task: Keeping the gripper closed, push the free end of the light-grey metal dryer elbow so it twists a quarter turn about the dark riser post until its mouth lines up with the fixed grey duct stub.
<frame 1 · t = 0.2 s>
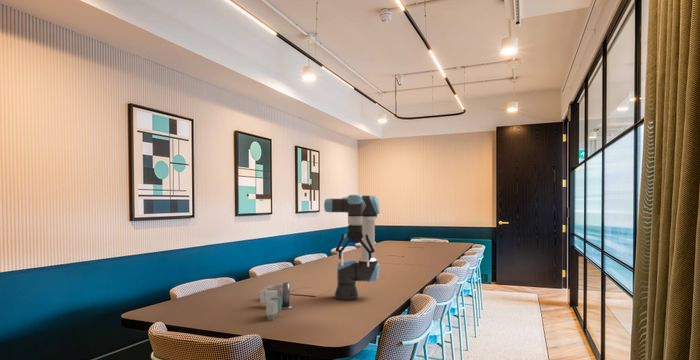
hand: (355, 266, 209), 28 cm above the table, tool pointing down, fingers open, 13 cm apart
riser post: (286, 307, 233), on the table
elbow: (271, 297, 235), point 5 cm above the table, hinge at -90.0°
duct stub: (273, 318, 212), on the table
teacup: (273, 299, 253), on the table
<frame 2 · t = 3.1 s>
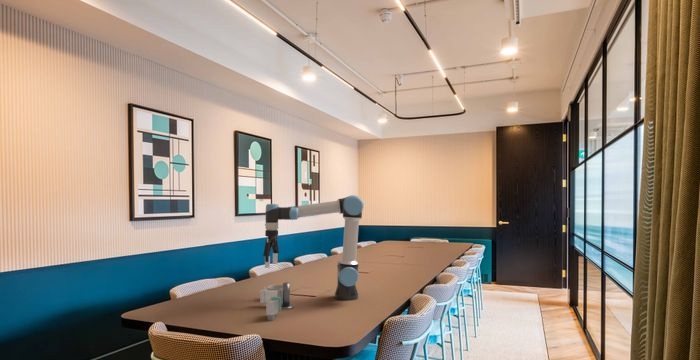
hand: (271, 265, 242), 23 cm above the table, tool pointing down, fingers open, 12 cm apart
nothing on the table moved.
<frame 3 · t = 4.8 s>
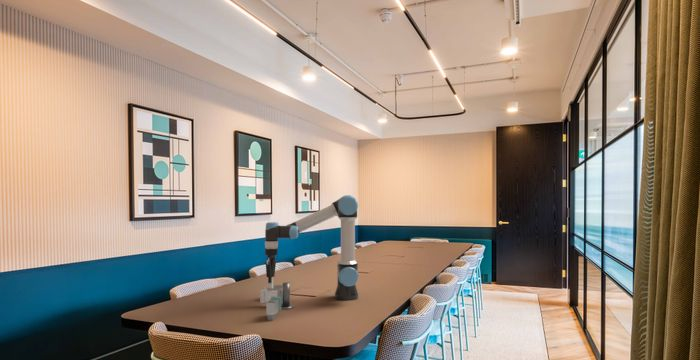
hand: (270, 288, 241), 9 cm above the table, tool pointing down, fingers closed
nothing on the table moved.
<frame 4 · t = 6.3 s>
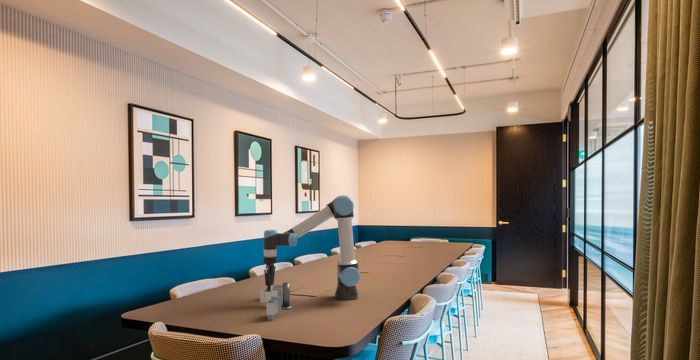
hand: (269, 296, 239), 5 cm above the table, tool pointing down, fingers closed
elbow: (271, 297, 235), point 5 cm above the table, hinge at -88.6°, touching gripper
everything else where it was.
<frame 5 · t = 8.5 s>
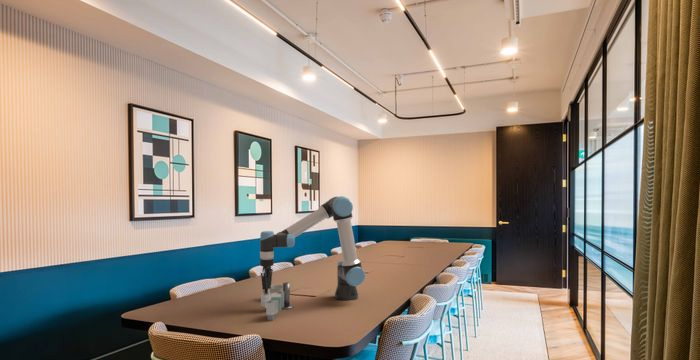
hand: (266, 300, 230), 5 cm above the table, tool pointing down, fingers closed
elbow: (272, 300, 228), point 5 cm above the table, hinge at -41.1°, touching gripper
everything else where it was.
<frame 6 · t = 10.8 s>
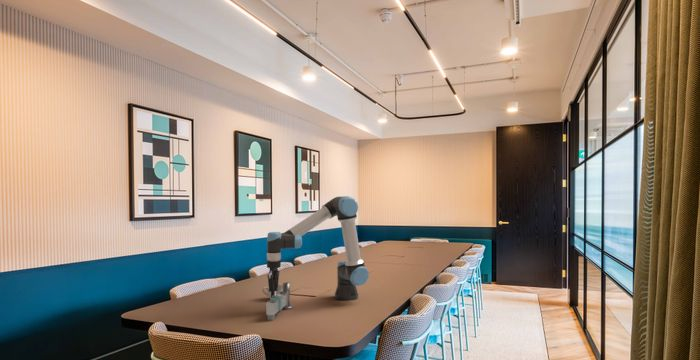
hand: (273, 303, 224), 5 cm above the table, tool pointing down, fingers closed
elbow: (280, 301, 225), point 5 cm above the table, hinge at -2.2°, touching gripper
everything else where it was.
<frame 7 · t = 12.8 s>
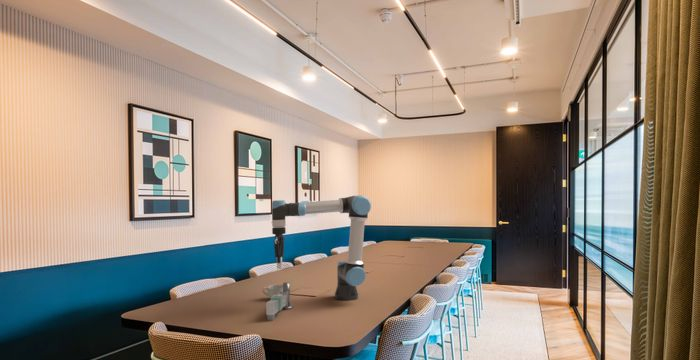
hand: (279, 268, 232), 23 cm above the table, tool pointing down, fingers closed
elbow: (280, 301, 225), point 5 cm above the table, hinge at -2.2°
everything else where it was.
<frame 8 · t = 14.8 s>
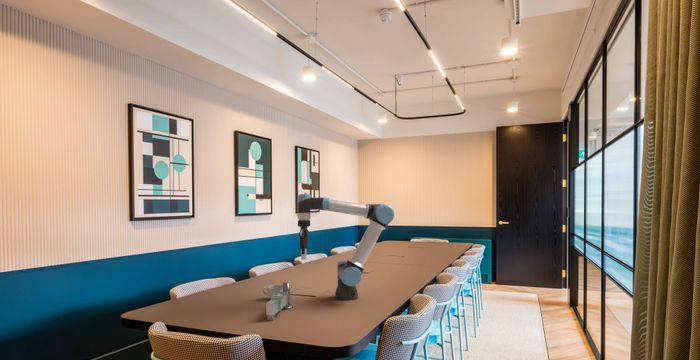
hand: (303, 259, 241), 26 cm above the table, tool pointing down, fingers closed
nothing on the table moved.
at the end: elbow at -2° (first picture: -90°) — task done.
